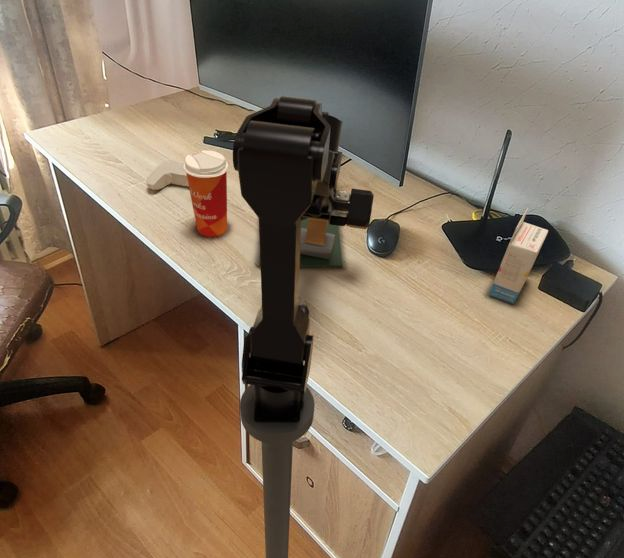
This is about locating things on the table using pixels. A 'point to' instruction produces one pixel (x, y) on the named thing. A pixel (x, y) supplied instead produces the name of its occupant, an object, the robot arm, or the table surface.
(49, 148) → the table surface
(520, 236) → the ink box
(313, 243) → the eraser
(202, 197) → the coffee cup
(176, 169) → the game controller
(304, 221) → the chalkboard
